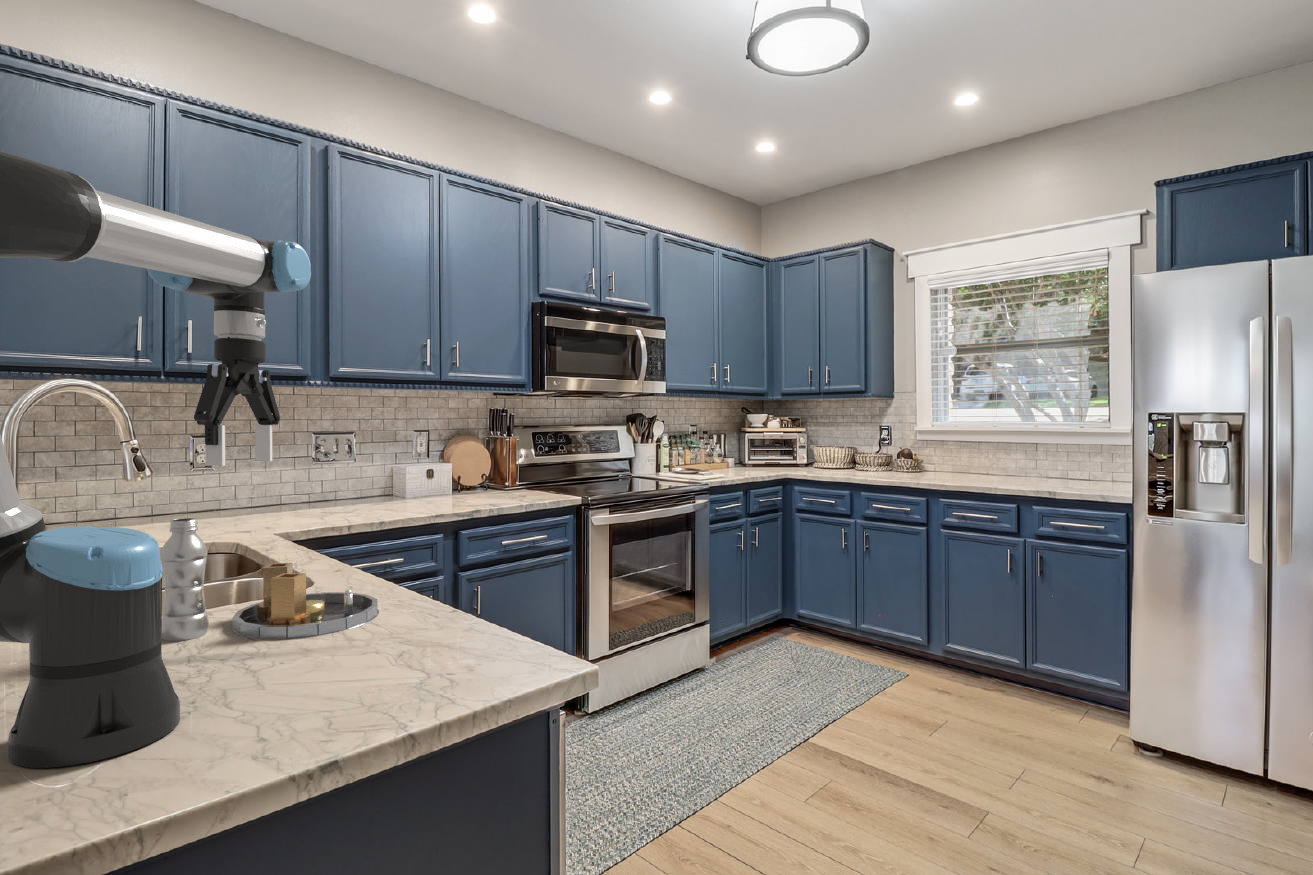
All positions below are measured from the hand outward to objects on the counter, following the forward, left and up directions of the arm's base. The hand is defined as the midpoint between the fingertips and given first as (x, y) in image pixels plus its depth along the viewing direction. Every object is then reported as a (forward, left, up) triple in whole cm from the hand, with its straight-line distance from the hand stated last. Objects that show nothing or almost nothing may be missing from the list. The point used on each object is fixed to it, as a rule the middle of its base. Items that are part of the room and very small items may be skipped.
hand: (241, 463), depth 117 cm
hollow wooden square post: (-4, -10, -28) cm, 29 cm away
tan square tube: (+5, -4, -28) cm, 28 cm away
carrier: (+3, -10, -29) cm, 31 cm away
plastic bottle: (-7, +5, -29) cm, 30 cm away
